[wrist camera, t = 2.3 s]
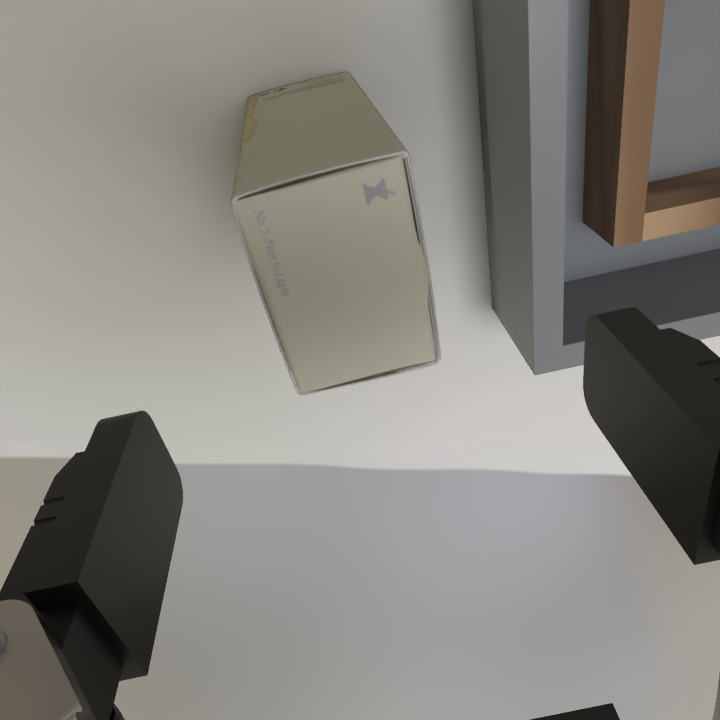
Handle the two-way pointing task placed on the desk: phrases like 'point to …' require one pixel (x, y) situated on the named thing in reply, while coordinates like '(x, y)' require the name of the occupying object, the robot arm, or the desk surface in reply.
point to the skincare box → (334, 235)
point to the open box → (566, 177)
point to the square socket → (633, 134)
